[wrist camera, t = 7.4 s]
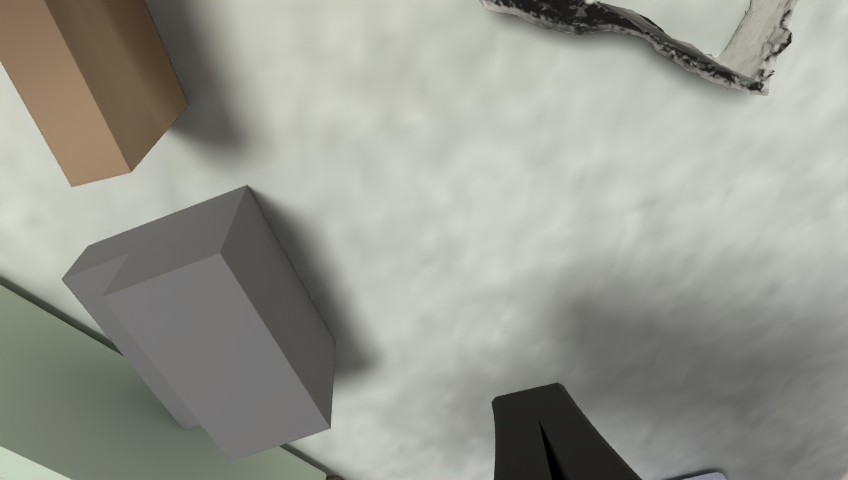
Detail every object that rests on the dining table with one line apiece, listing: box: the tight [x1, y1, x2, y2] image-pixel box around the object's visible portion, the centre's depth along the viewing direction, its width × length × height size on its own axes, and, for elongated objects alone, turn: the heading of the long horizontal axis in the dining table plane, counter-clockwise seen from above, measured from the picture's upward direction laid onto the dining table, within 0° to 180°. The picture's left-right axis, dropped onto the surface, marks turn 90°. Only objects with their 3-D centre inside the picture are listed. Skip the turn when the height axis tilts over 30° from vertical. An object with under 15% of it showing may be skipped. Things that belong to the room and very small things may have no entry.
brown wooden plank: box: [0, 0, 343, 480], centre depth 17 cm, size 30×1×5 cm, turn 13°
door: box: [0, 285, 326, 480], centre depth 18 cm, size 14×2×4 cm, turn 44°
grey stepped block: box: [62, 185, 335, 462], centre depth 17 cm, size 6×5×4 cm
